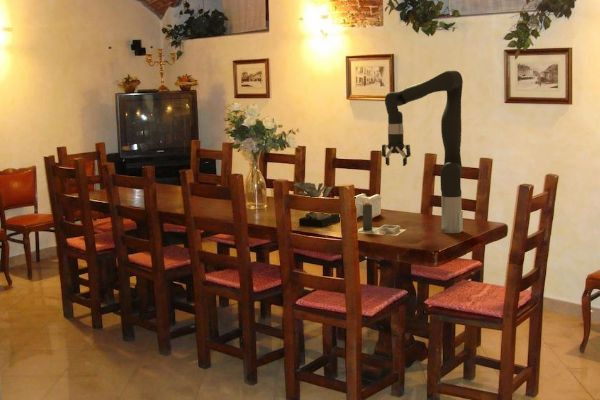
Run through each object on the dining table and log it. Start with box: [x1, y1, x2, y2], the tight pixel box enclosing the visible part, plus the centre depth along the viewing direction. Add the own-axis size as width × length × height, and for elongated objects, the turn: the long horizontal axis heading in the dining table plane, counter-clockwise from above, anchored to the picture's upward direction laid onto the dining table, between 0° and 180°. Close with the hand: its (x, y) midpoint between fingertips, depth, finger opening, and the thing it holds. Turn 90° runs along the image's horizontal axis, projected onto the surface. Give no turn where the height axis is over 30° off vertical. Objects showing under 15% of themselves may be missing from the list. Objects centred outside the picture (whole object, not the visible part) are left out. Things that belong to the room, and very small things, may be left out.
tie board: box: [357, 224, 407, 237], centre depth 355 cm, size 22×14×4 cm, turn 63°
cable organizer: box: [354, 193, 382, 219], centre depth 398 cm, size 15×11×12 cm
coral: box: [293, 180, 341, 228], centre depth 385 cm, size 25×20×21 cm
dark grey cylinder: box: [362, 202, 373, 230], centre depth 358 cm, size 4×4×13 cm
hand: (396, 165), depth 370 cm, fingers open, 8 cm apart
